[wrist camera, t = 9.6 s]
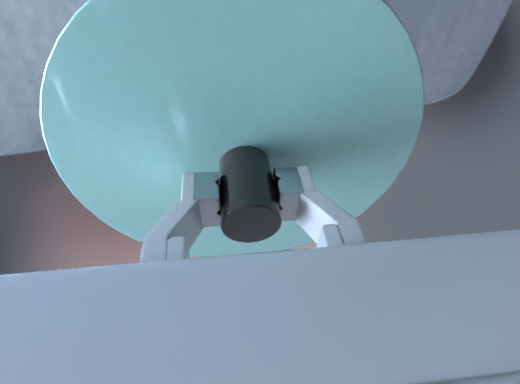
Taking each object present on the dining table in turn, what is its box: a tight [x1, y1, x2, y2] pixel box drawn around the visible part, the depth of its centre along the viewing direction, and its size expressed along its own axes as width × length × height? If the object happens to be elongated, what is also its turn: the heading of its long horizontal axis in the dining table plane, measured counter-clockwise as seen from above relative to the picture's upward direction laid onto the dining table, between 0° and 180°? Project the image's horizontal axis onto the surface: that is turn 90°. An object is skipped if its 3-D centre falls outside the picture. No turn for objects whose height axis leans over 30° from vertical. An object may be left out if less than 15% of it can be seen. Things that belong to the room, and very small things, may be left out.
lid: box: [40, 0, 424, 257], centre depth 14 cm, size 16×16×5 cm
